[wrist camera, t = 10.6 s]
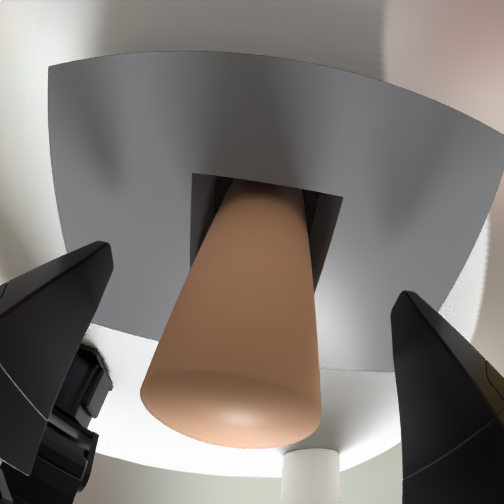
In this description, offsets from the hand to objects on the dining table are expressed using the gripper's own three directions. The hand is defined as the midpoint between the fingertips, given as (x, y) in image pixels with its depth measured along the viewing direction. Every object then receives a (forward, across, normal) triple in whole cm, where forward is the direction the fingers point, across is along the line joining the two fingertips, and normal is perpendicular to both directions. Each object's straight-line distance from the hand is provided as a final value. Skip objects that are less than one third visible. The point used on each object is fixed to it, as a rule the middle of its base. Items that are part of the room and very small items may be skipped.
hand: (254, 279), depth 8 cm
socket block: (+6, 0, 0) cm, 6 cm away
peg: (+6, 0, 0) cm, 6 cm away
